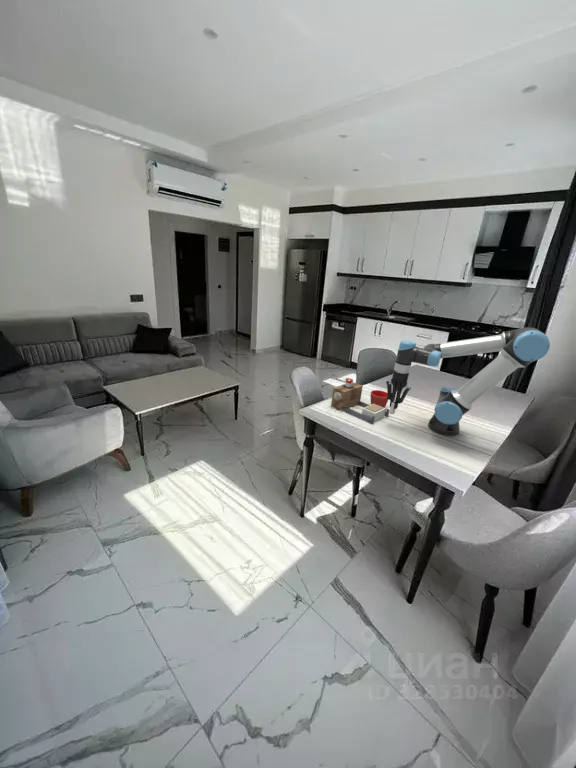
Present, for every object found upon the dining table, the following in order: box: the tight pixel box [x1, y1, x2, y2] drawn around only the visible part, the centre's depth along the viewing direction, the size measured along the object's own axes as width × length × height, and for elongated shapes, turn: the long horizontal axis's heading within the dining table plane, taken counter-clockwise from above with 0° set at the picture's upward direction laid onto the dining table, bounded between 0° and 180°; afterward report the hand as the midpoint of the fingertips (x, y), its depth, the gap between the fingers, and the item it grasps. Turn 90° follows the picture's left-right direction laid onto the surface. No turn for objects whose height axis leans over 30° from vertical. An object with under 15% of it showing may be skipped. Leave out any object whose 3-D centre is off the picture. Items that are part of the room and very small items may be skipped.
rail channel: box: [342, 400, 390, 425], centre depth 178 cm, size 20×16×4 cm
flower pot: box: [370, 389, 389, 408], centre depth 185 cm, size 11×11×10 cm
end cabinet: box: [330, 381, 364, 412], centre depth 186 cm, size 8×18×12 cm, turn 133°
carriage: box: [361, 404, 387, 422], centre depth 174 cm, size 8×11×6 cm
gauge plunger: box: [345, 377, 354, 389], centre depth 184 cm, size 4×4×8 cm
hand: (391, 413), depth 166 cm, fingers closed
